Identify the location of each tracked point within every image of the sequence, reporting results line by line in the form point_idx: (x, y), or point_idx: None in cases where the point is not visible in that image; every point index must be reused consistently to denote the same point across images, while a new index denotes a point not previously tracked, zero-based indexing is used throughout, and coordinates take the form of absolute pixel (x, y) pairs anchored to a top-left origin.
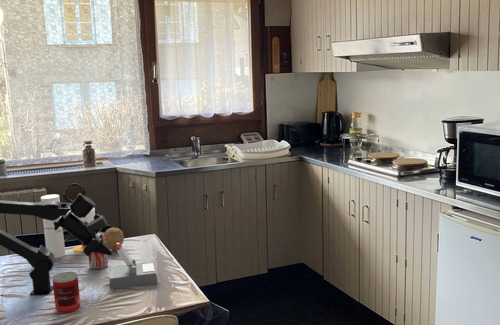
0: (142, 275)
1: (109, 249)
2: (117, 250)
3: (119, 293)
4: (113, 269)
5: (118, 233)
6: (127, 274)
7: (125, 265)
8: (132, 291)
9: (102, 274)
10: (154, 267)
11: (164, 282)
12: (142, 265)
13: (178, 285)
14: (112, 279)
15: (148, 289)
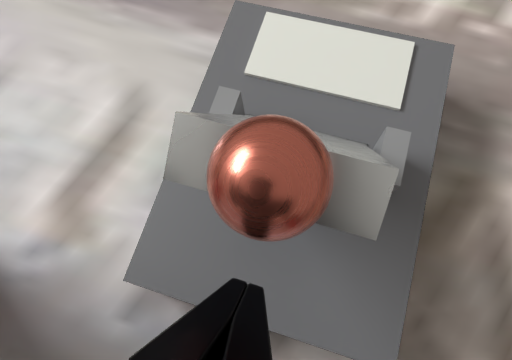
0: (436, 129)
1: (226, 323)
2: (367, 227)
3: (468, 323)
4: (204, 275)
5: None
6: None
7: None
8: (473, 239)
9: (69, 317)
10: (346, 27)
11: None
12: (269, 76)
13: (503, 10)
14: (395, 346)
15: (486, 151)
